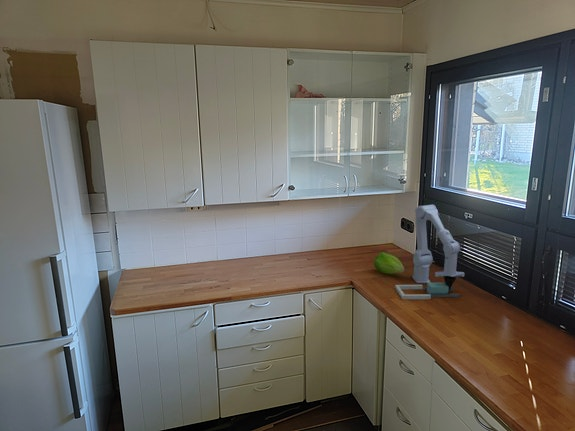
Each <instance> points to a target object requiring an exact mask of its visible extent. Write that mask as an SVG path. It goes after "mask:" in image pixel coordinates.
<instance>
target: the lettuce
mask: <svg viewBox="0 0 575 431" xmlns="http://www.w3.org/2000/svg"><path fill="white" fill-rule="evenodd" d="M373 266H374V268H375V269H376V270H377V271H378V272H380V273H382V274H387V275H396V274H400V273H404V272H405V270H406V269H405V267H404V265H403V264H402V261H400V259H399V258H398V257H396V256H394V255H392V254H390V253H386V252H380V253H378V254H377V255H376V257H375V258H374V261H373Z"/></svg>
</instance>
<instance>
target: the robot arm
mask: <svg viewBox="0 0 575 431" xmlns="http://www.w3.org/2000/svg"><path fill="white" fill-rule="evenodd" d="M438 214H439V210H438V209H437V207H436V205H435V204H427V205H426V204H425V205H418V206H417V207H416V209H415V228H416V229H415V232H416V245H417V249H416V250H415V251H414V253H413V258H412V262H413V264H414V266H413V275H412V276H411V278H412V279H413V280H414V282H416V283H419V284H420V283H421V284H427V283H432V282H431V280H430V278H429V274H430V266H431V265H432V263H433V260H434V259H433V258H434V257H433V255H432V251H431V250H429V249H428V237H427V236H428V235H427V221H430V222H431V223H432V225H433V227H434V228H435V230H436V231H437V236H438V238H439V240H440V242H441V243H442V245H443V247H442V250H443V252H444V266H443V270H442V271H434V272H435V273H434V276H435V277H436V278H438V277H443V280H444V283H445V284H446V285H447V286H448V287H449V289H448V290H450V289H451V287H452V286H453V284H454V282H455V281H456V280H457V277H462V278H463V277H465V272H463V271H457V262H458V253H459V252H460V251H461V249H462V248H461V245H460V243H459V242H458V241H456V240H455V239H454V238H453V236H452V234H451V232H450V231H449V230H448V229H446V228H445V226H444V225H443V222H442V221H441V219H440V217H439V215H438Z"/></svg>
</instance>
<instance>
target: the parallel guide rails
mask: <svg viewBox="0 0 575 431" xmlns="http://www.w3.org/2000/svg"><path fill="white" fill-rule="evenodd" d="M423 290H424V291H425V292H427V286H425V287H424V286H423ZM453 290H454V288H453V287H452V286H451V289H450V290H448V293H438V294H430V295H431V298H459V297H460V293H449V291H451V292H453Z"/></svg>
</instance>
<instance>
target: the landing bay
mask: <svg viewBox="0 0 575 431" xmlns="http://www.w3.org/2000/svg"><path fill="white" fill-rule="evenodd" d="M394 285H395V286H394V289H395V291H396V292H397V294H398V295H399V297H400V298H401V299H402V300H431V299H432V297H431V295H430V294H428V293H427V294H426V293H425V294H423V293H422V294H414V293H413V294H405V293H404V291H403V290H424V286H423V284H394Z"/></svg>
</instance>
